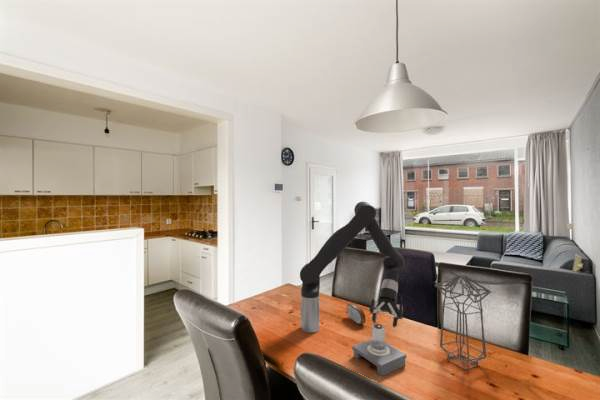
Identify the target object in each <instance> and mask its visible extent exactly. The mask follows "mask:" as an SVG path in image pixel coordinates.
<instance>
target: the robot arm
mask: <svg viewBox="0 0 600 400" xmlns="http://www.w3.org/2000/svg"><path fill="white" fill-rule="evenodd" d="M353 211H354V215H353V217H352V219H350V221H349V222H348V223H346V224H345V225H344V226H342V227H341V228H339V229H338V230H336V231H335V232H333V233H332V234H331V236H330V237H329V238H328V239H327V240H326V241H325V243H324V244H323V245H322V247H321V248H320V249H319V251H318V252H317V254H316V255H315V256H314V257H313V258H312V259H311V260H310V261H309V262H308V263H305V264H304V266H303V267H302V268H301V269H300V272H299V278H300V280H301V282H302V283H301V290H300V295H301V297H300V298H301V303H300V304H301V306H300V307H301V308H300V327H301V331H303V332H304V333H311V334H313V333H317V332H318V331H320V287H321V286H320V284H321V283H320V282H321V274H322V273H323V271H324V270H325V269H326V267H328V266H329V264H331V263H332V262H333V261H334V260H335V259H337V258H338V257H339V256H340V254H341V253H343V251H344V250H345V249H346V248H347V247H348V246H349V245H350V243H352V242H353V240H354V239H355V238H356V237H357V236H358V235H359V234H360V233H361V232H362V231H363V230H364V229H365V228H366V230H367V232H368V233H369V235H370V237H371V239H372V241H373V242H374V244H375V246H376V248H377V250H378V251H379V253H380V255H382V256H384V258H383V260H382V265H383V266H382V267H383V280H382V283H381V287H380V294H379V299H378V300H375V299H374V298H372V299H371V302H370V306H369V310H368V311H369V312H370V314H372V317H371V319H372V320H371V321H372V322H373V324H377V323H376V322H377V317H378V314H380V313H381V312H383V313H388V314H392V316H393V319H392V327H393V328H394V329H395V328H396V327H397V326H398V321H399V320H403V317H404V316H403V314H404V307H403V306H404V305H403V304H402V303H400V304H398V303H397V299H398V293H399V291H398V290H399V280H400V274H399V272H397V271H396V270H399V269H403V268H404V267H405V263H406V261H405V259H404V257H403V255H402V254H401V253H400V252H399V251H398V250H397V249H396V248H395V247H394V246H393V244H392V242H391V240H390V239H389V238H388V236H387V235H386V233H385V232H384V230H383V229H382V228H381V226H380V225H379V222H377V220H376V216H377V209H376V208H375V207H374V206H373V205H372V204H371V203H370V202H367V201H359V202H358V203H356V205H355V206H354V209H353ZM377 305H378V306H377ZM375 306H377V307H376V308H375ZM396 309H398V313H396V311H395V310H396Z"/></svg>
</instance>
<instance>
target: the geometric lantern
mask: <svg viewBox="0 0 600 400" xmlns="http://www.w3.org/2000/svg"><path fill="white" fill-rule="evenodd" d="M445 283H446V284H445ZM457 284H460V285H461V293H460V292H456V291H455V292H454V289H455V287H456V286H457ZM434 287H435V288H437V289H438V291H440V293H442V295H443V296H444V297H443V298H444V299H443V302H442V304H441V306H442V309H441V329H440V339H439V347H440V348H441V349H442V351H444V352H445V353H446V355H447V358H446V359H447V360H448V361H449V362H450V363H452V364H453V365H455V366H458V367H459V368H460V369H462V370H464V371H465V370H470V369H473V368H475V367H478V366H479V361H481V360H484V359H486V358H487V349H486V341H485V340H486V339H485V329H484V319H483V318H484V317H483V315H484V314H483V306H482V300H483V299H485V298H486V297H487V296H488V295H489V294H492V293H493V292H492V291H491V290H490V289H488V288H487V287H485V286H484V285H481V284H480V283H478V282H476V281H475V280H473V279H472V278H470V277H468V276H467V275H465V274H458V275H457V276H453V277H451V278H448V279H446V280H443V281H441V282H438V283H435V284H434ZM478 287H480V288H478ZM449 288H450V289H449ZM465 290H466V291H467V295H466V294H465ZM481 291H483V292H482V293H481ZM474 292H475V293H474ZM447 293H449V296H447ZM454 294H455V295H454ZM462 296H464V297H466V299H465V300H463V302H460V301H459V300H458V299H457V298H458V297H462ZM471 296H472V297H474V298H472V297H471ZM478 298H479V299H478ZM447 299H450V300H452V302H446V300H447ZM469 299H470V300H471V302H470V304H467V303H466V302H467V301H468V300H469ZM452 304H454V305H455V306H456V308H457V310H456V309H453V308H451V307H449V306H446V305H452ZM472 304H477V307H476V306H473V305H472ZM460 305H462V310H461V309H460ZM465 306H467V307H466V309H465ZM469 307H471V308H474V309H477V310H479V311H475V312H474V311H473V312H468V313H466V311H467V310H468V309H469ZM445 308H447V309H450V310H452V311H454V312H456V314H457V315H456V331H455V332H456V335H455V341H450V342H449V341H448V342H444V343H443V340H444V339H443V335H444V334H443V333H444V316H445ZM473 314H480V321H481V322H480V323H481V325H480V326H481V342H482V350H480V349H478V348H476V347H474V346H472V345H470V344H469V334H468V330H469V329H468V317H467V316H468V315H473ZM458 333H459V334H458ZM458 335H459V337H458ZM465 337H466V338H465ZM458 338H459V340H458ZM465 339H466V342H465ZM454 343H456V346H457V350H454V351H449V350H448V349H446V348H445V347H443V346H445V345H450V344H454ZM458 343H459V345H458ZM464 345H466V350H467V351H466V352H465V351H463V348H464ZM470 348H471V349H473V350H476V351H478V352H479V353H481V354H480V355H478V356H477V357H475V356H474V355H471V354H470ZM454 353H457V354H454ZM463 353H464V354H465V355H467V356H465V355H463ZM462 357H463V358H462ZM470 357H472V358H470ZM450 359H454V360H456V361H458V362H459V363H462V364H463V367H462V366H461V365H459V364H457V363H456V362H454V361H452V360H450ZM464 361H466V362H464ZM471 363H475V365H473V366H470V367H468V365H469V364H471ZM465 366H466V368H465Z"/></svg>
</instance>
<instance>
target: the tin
mask: <svg viewBox="0 0 600 400" xmlns="http://www.w3.org/2000/svg"><path fill="white" fill-rule="evenodd" d="M346 312H347V313H346V314H347V315H348V317H349V319H350V320H352V321H353V322H354V323H356V324H357V325H364V324H366V319H367V318H366V313H365V312H364V310H363V309H362V308H361V307H360V306H358V305H357V304H355V303H353V302H350V303H348V304H347V305H346Z"/></svg>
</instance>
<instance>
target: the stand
mask: <svg viewBox="0 0 600 400" xmlns="http://www.w3.org/2000/svg"><path fill="white" fill-rule="evenodd" d="M371 344H372V338H371V339H369V340H365V341H362V342H359V343H357V344H353V345H352V346H351V347H352V351H353V356H354V358H355V359H357V360H358V359H360V358H362V357H363V358H364V359H366V361H367V360H368V362H369V363H372V364H373V365H374V366H376V372H377V374H378V375H380V376H382V377H383V376H385V375H388V374H389V373H392V372H394V371H397V370H398V369H400V368H402V367H405V366H406V359H407V354H406V353H405V352H403V351H401V350H400V349H397V348H396V347H394V346H392V345H390V344H388V342H385V345H386V347H387V352H386V353H383V354H379V353H375V352H373V351H371V349H370V345H371Z"/></svg>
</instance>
